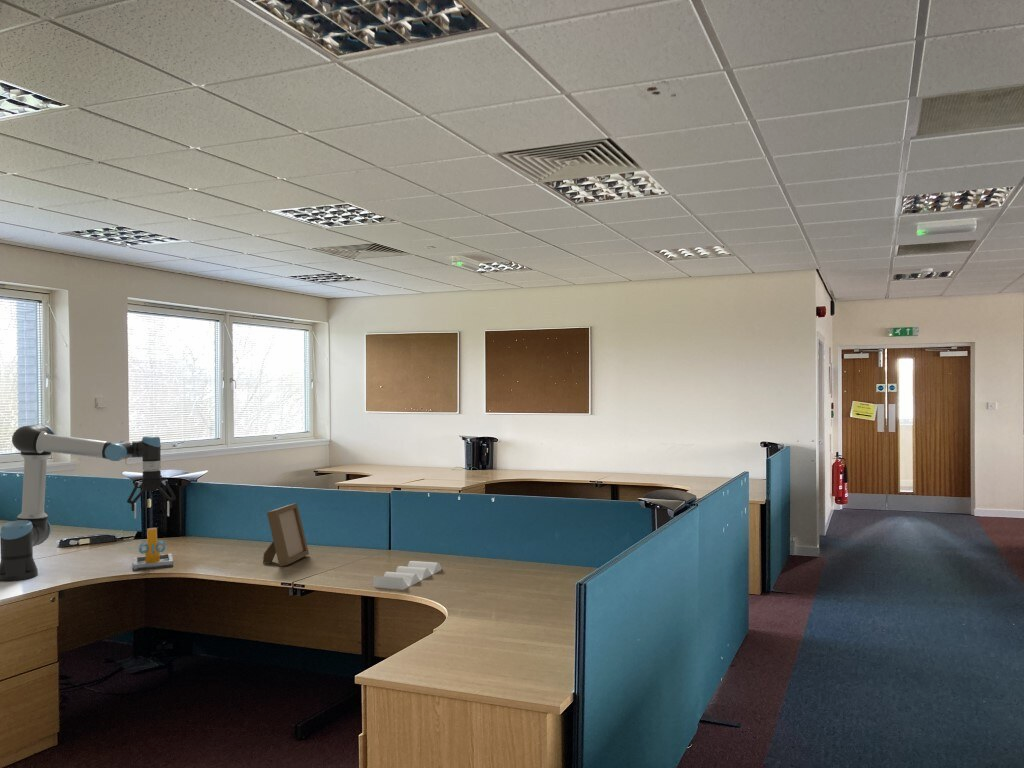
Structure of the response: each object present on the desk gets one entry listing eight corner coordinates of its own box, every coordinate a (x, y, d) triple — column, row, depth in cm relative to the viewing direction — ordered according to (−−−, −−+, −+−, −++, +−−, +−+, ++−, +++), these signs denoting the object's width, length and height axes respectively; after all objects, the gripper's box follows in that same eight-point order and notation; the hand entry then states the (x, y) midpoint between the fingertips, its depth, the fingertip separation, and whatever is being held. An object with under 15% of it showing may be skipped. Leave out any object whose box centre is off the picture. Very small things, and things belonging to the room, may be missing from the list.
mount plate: (133, 570, 345) (133, 564, 345) (133, 562, 361) (133, 557, 361) (173, 566, 352) (173, 560, 352) (171, 558, 368) (171, 553, 368)
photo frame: (309, 556, 369) (308, 502, 369) (288, 566, 347) (287, 510, 347) (279, 555, 371) (278, 502, 371) (257, 566, 350) (256, 510, 350)
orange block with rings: (171, 559, 361) (171, 526, 361) (159, 564, 351) (158, 530, 351) (146, 559, 362) (145, 526, 362) (133, 564, 352) (132, 530, 352)
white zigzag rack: (442, 570, 338) (442, 558, 338) (403, 591, 305) (403, 577, 305) (415, 568, 342) (415, 557, 342) (373, 588, 309) (373, 575, 309)
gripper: (120, 472, 348) (121, 520, 348) (181, 469, 359) (182, 516, 359) (121, 470, 355) (121, 517, 355) (181, 468, 366) (181, 513, 366)
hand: (152, 517), depth 357 cm, fingers open, 13 cm apart
